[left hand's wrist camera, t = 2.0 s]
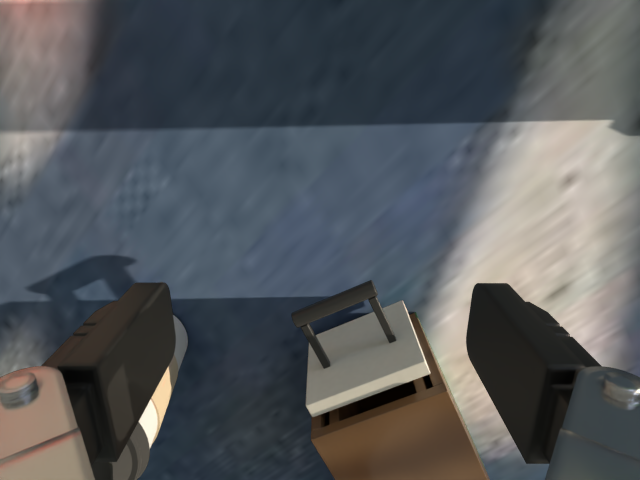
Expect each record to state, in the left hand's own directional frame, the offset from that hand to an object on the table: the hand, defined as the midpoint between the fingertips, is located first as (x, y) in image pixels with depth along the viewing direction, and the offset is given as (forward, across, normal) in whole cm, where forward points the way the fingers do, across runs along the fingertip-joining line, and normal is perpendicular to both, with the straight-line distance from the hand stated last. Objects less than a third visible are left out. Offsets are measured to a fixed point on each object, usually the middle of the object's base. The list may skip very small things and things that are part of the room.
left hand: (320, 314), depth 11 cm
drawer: (+24, -6, +20) cm, 32 cm away
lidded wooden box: (+24, -8, +25) cm, 36 cm away
